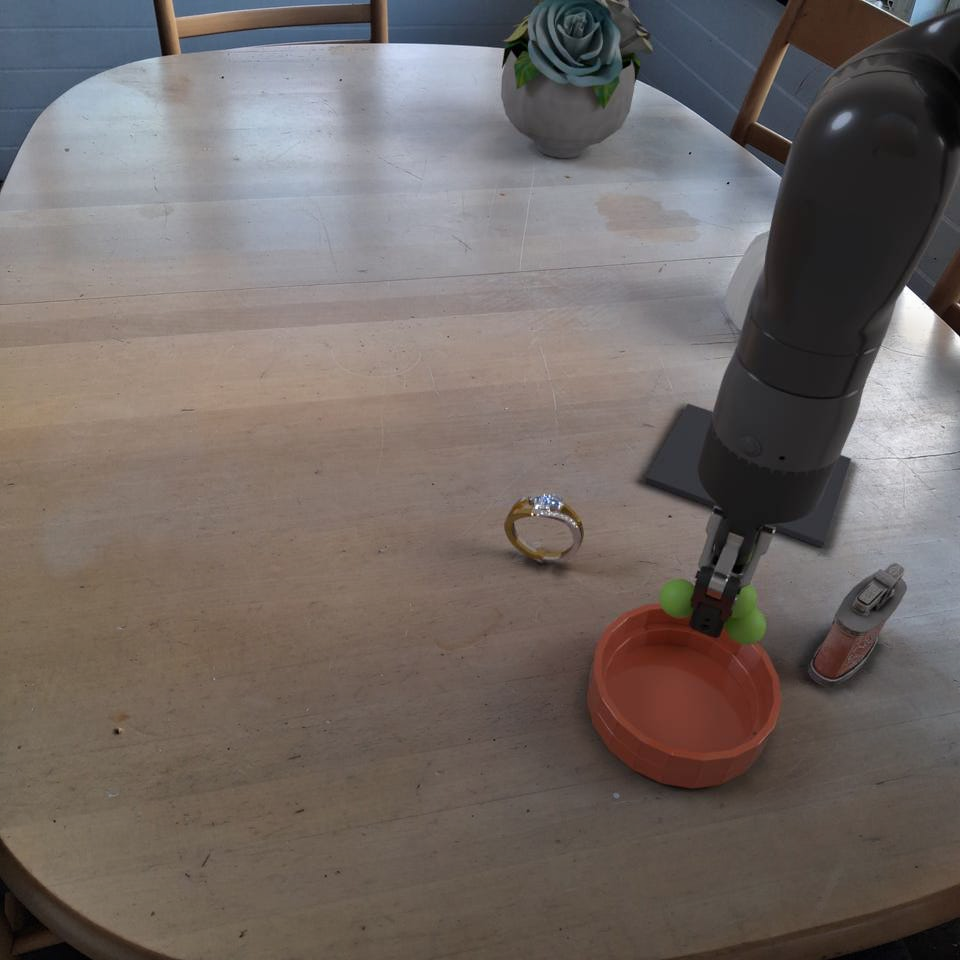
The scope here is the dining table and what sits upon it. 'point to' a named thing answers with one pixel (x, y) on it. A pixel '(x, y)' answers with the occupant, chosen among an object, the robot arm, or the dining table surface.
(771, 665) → the bowl
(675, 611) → the grapes
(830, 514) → the slate board
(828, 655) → the lighter
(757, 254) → the vase
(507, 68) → the flower arrangement
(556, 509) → the ring
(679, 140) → the dining table surface
